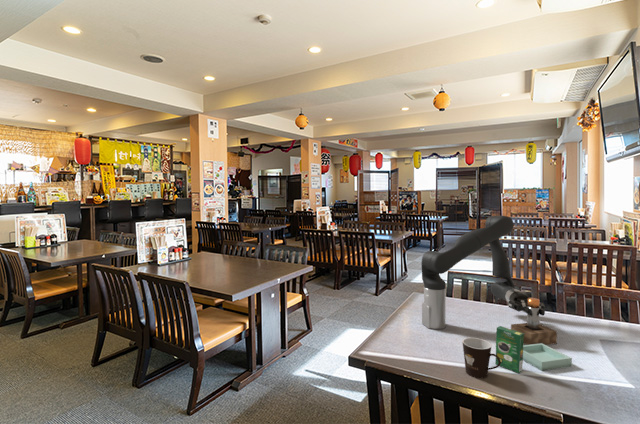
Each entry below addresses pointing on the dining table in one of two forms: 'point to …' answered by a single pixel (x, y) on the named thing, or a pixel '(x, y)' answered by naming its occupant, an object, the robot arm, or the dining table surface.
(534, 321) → the pin
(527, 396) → the dining table surface
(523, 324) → the block
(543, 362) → the tray
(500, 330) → the coffee box
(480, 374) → the coffee mug
